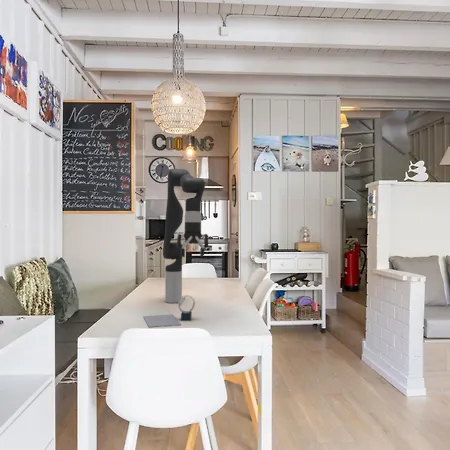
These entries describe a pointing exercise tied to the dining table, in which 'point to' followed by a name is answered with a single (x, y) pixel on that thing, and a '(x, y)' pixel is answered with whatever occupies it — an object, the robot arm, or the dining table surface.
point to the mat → (161, 320)
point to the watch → (186, 314)
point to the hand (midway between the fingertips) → (192, 256)
